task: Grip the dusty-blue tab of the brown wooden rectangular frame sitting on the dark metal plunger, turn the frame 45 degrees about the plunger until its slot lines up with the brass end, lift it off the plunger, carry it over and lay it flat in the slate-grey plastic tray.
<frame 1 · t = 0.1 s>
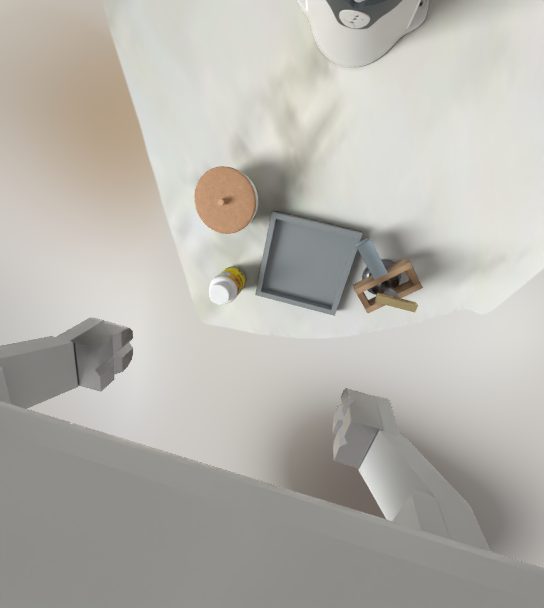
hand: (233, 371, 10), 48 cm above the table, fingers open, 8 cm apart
tray: (305, 263, 57), on the table
supplement bottle: (235, 277, 61), on the table
lidded jar: (237, 199, 55), on the table
plunger: (380, 276, 56), on the table
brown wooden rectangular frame: (384, 283, 52), point 4 cm above the table, touching plunger
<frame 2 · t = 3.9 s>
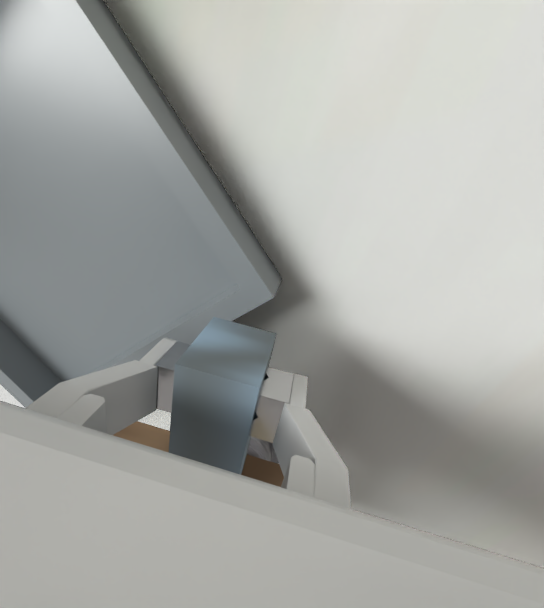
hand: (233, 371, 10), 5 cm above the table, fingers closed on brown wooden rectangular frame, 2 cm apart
tray: (55, 221, 14), on the table
plunger: (237, 420, 18), on the table
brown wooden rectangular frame: (215, 481, 14), point 4 cm above the table, touching gripper, plunger
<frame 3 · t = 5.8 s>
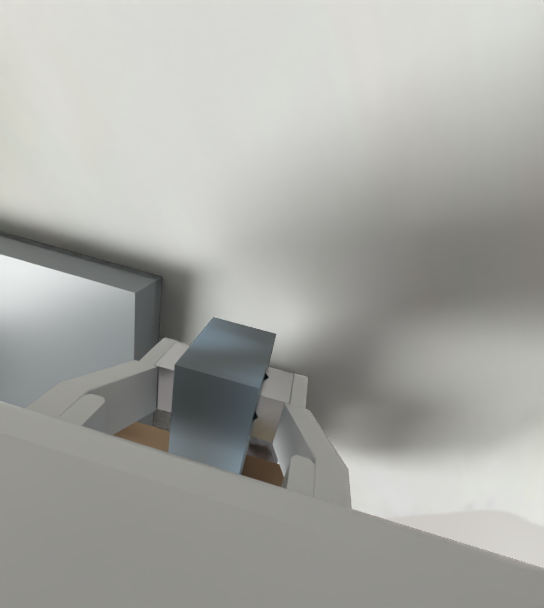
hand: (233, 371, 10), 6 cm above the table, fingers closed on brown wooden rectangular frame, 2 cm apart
tray: (42, 355, 20), on the table
plunger: (247, 407, 19), on the table
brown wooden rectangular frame: (215, 482, 14), point 5 cm above the table, touching gripper
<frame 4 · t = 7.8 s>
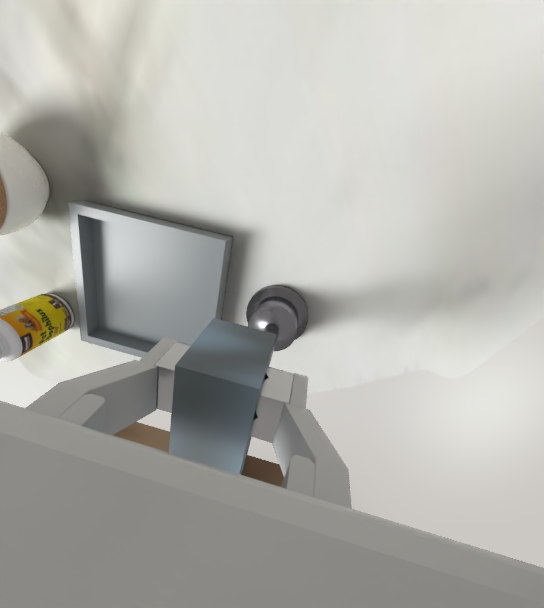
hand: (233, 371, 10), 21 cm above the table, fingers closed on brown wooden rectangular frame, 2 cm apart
tray: (156, 289, 34), on the table
supplement bottle: (58, 310, 38), on the table
lidded jar: (26, 180, 32), on the table
plunger: (277, 313, 33), on the table
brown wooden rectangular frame: (215, 482, 14), point 20 cm above the table, touching gripper
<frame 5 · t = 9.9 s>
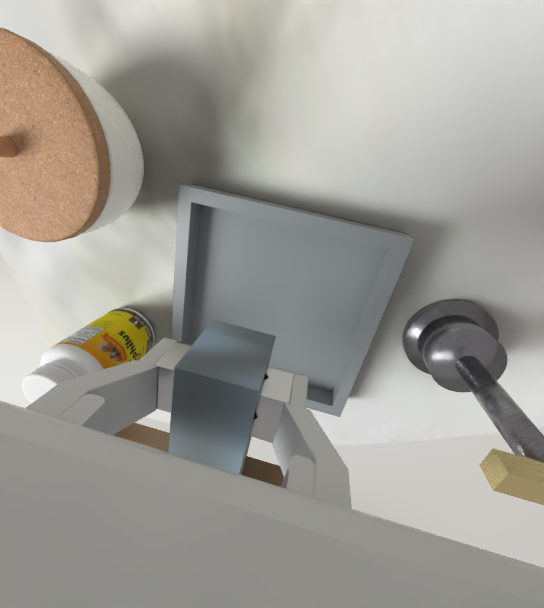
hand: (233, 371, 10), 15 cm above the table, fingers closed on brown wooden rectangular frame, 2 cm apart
tray: (274, 303, 26), on the table
supplement bottle: (133, 328, 30), on the table
lidded jar: (108, 157, 23), on the table
plunger: (446, 337, 24), on the table
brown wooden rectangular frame: (215, 483, 14), point 14 cm above the table, touching gripper
when the fingers open (3 cm above the table, at t = 11.8 s): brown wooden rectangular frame drops 1 cm, resting on tray.
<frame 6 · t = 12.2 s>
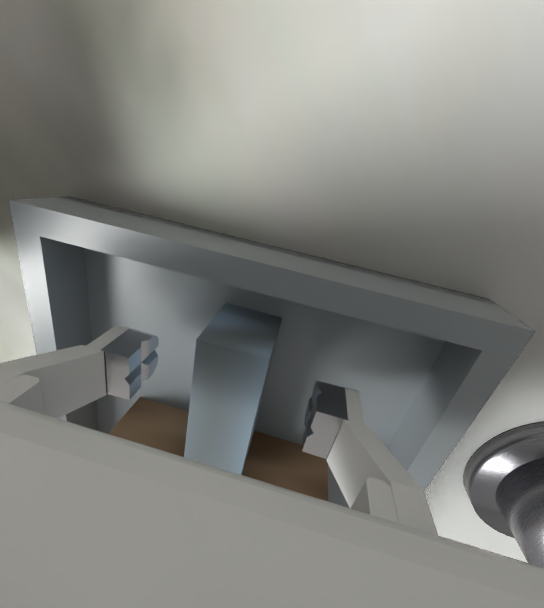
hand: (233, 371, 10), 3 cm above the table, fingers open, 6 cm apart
tray: (236, 404, 15), on the table
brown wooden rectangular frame: (224, 457, 15), point 1 cm above the table, touching tray
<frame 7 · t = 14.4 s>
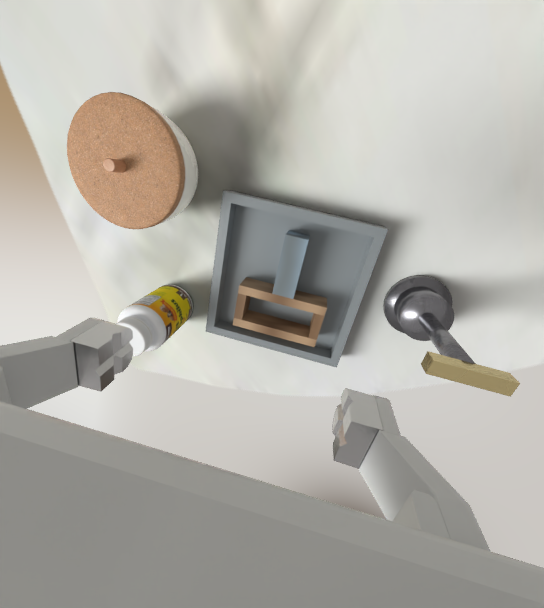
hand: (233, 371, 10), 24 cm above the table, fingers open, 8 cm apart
tray: (287, 280, 34), on the table
supplement bottle: (176, 301, 38), on the table
lidded jar: (168, 170, 32), on the table
plunger: (415, 304, 32), on the table
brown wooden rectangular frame: (281, 306, 35), point 1 cm above the table, touching tray
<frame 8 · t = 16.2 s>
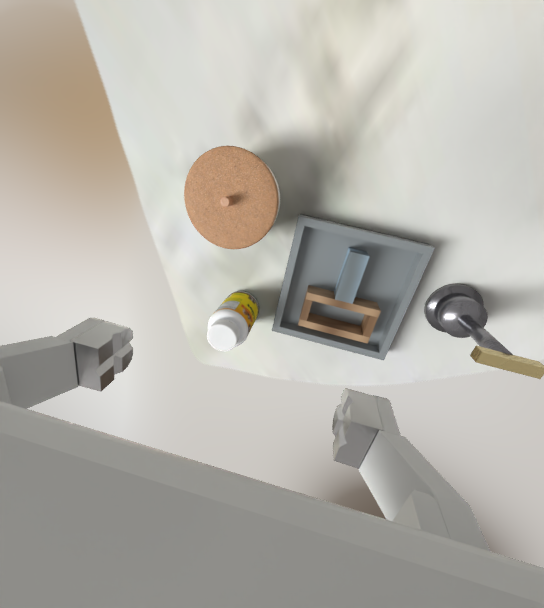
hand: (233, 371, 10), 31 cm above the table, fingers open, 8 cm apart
tray: (343, 287, 41), on the table
supplement bottle: (243, 305, 45), on the table
lidded jar: (247, 197, 38), on the table
plunger: (451, 307, 39), on the table
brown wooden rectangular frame: (337, 309, 41), point 1 cm above the table, touching tray
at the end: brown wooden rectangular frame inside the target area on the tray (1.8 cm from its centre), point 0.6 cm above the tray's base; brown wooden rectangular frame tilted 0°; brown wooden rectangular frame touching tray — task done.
